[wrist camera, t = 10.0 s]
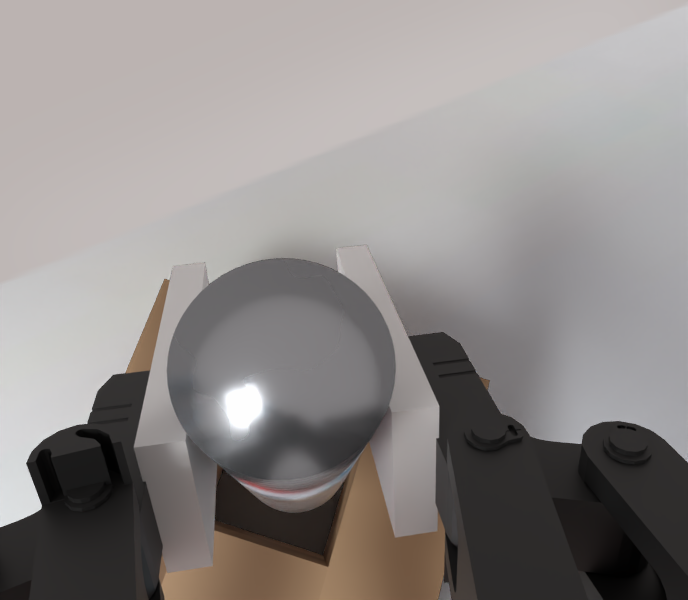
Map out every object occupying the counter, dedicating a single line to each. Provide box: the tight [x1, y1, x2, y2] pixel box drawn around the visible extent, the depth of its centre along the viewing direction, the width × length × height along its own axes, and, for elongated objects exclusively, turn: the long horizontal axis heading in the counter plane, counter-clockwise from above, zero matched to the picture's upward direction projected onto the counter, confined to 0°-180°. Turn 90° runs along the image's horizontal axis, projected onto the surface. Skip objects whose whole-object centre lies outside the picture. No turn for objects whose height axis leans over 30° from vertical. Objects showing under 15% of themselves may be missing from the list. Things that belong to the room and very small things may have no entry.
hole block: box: [126, 279, 490, 600], centre depth 24 cm, size 12×10×5 cm
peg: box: [167, 258, 396, 513], centre depth 14 cm, size 3×3×11 cm
